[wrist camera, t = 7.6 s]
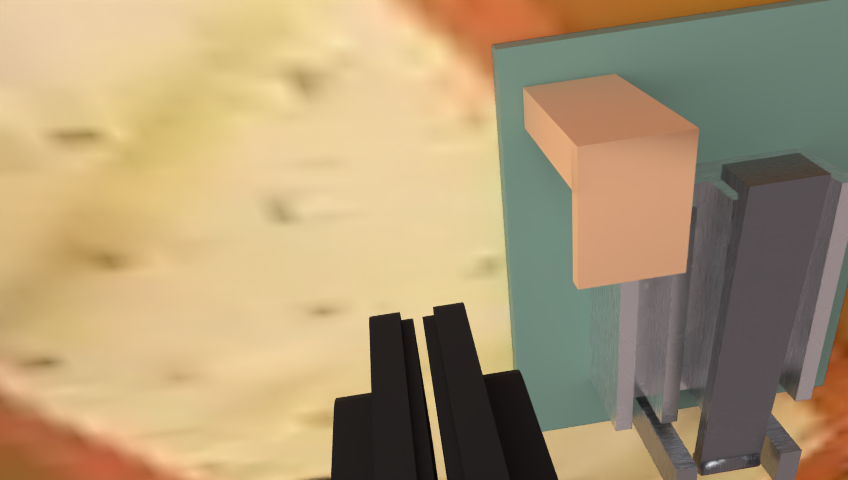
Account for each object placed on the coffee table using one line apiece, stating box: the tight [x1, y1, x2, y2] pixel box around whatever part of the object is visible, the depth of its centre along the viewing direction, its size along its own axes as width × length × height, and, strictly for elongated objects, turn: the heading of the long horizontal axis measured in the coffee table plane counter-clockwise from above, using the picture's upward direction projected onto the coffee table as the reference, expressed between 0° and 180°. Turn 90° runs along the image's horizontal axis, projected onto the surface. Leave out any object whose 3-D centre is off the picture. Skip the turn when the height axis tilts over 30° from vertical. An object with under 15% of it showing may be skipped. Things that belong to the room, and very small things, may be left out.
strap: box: [693, 153, 831, 476], centre depth 27 cm, size 16×3×2 cm, turn 7°
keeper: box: [523, 74, 699, 290], centre depth 25 cm, size 6×4×7 cm
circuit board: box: [492, 0, 848, 432], centre depth 32 cm, size 22×18×1 cm
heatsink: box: [590, 147, 848, 480], centre depth 30 cm, size 14×10×6 cm
